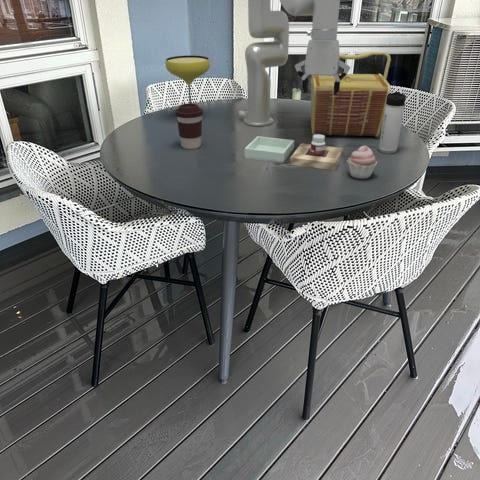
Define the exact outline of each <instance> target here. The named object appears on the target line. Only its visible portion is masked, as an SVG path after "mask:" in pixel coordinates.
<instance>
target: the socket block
mask: <svg viewBox="0 0 480 480" xmlns="http://www.w3.org/2000/svg"><path fill="white" fill-rule="evenodd" d="M310 152H311V143H310V144H309V143H300V144H299V146H298V147H297V148H296V150H295V151H294V152H293V154H291V156H290V160H289V165H291V166H298V167H299V166H300V167H305V168H306V167H307V168H313V169H321V170H331V171H335V170H336V168H337V167H338V164H339V162H340V160H341V158H342V156H343V153H344V147H336V146H329V145H325V153H324V157H318V156H310Z"/></svg>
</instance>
